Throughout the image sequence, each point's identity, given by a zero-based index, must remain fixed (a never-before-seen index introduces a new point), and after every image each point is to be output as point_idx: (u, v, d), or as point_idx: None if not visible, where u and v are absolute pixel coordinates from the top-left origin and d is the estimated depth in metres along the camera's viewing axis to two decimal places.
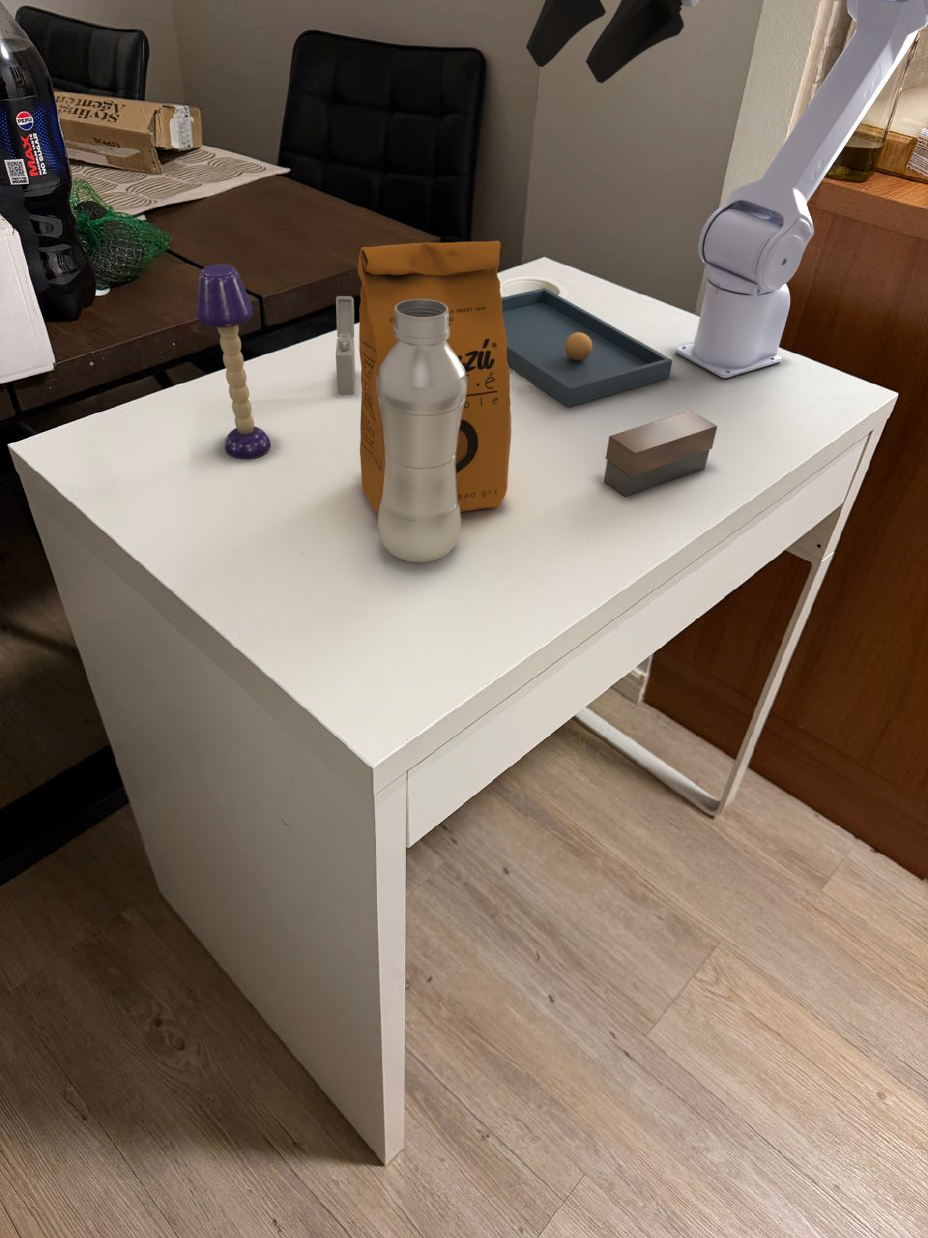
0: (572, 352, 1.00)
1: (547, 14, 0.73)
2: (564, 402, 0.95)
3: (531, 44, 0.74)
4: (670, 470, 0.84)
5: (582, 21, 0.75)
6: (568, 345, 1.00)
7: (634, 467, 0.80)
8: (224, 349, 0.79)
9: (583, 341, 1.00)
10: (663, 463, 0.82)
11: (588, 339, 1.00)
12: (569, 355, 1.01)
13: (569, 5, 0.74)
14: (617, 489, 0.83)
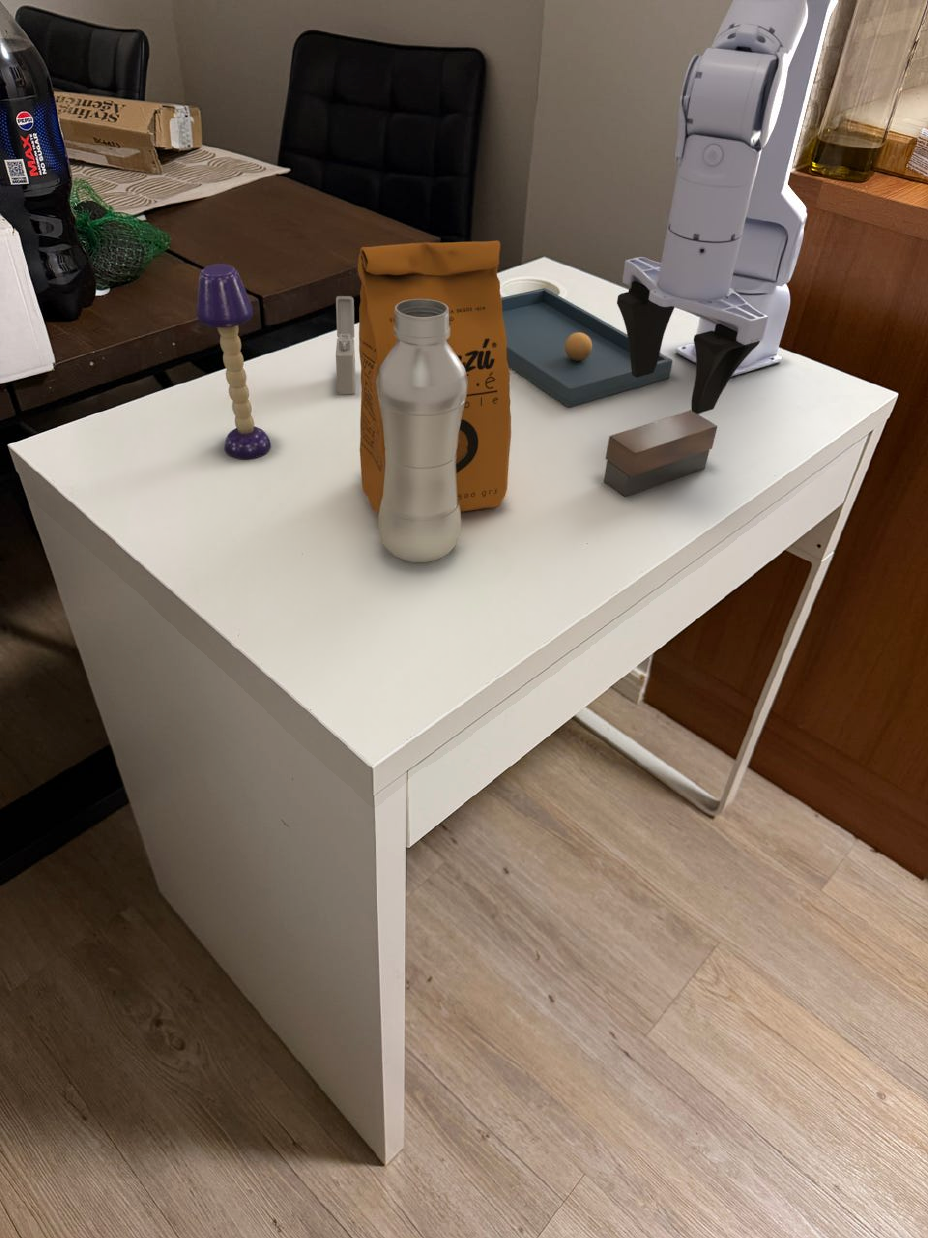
0: (572, 352, 1.00)
1: (636, 350, 0.80)
2: (564, 402, 0.95)
3: (636, 375, 0.82)
4: (670, 470, 0.84)
5: (666, 317, 0.80)
6: (568, 345, 1.00)
7: (634, 467, 0.80)
8: (224, 349, 0.79)
9: (583, 341, 1.00)
10: (663, 463, 0.82)
11: (588, 339, 1.00)
12: (569, 355, 1.01)
13: (649, 325, 0.79)
14: (617, 489, 0.83)
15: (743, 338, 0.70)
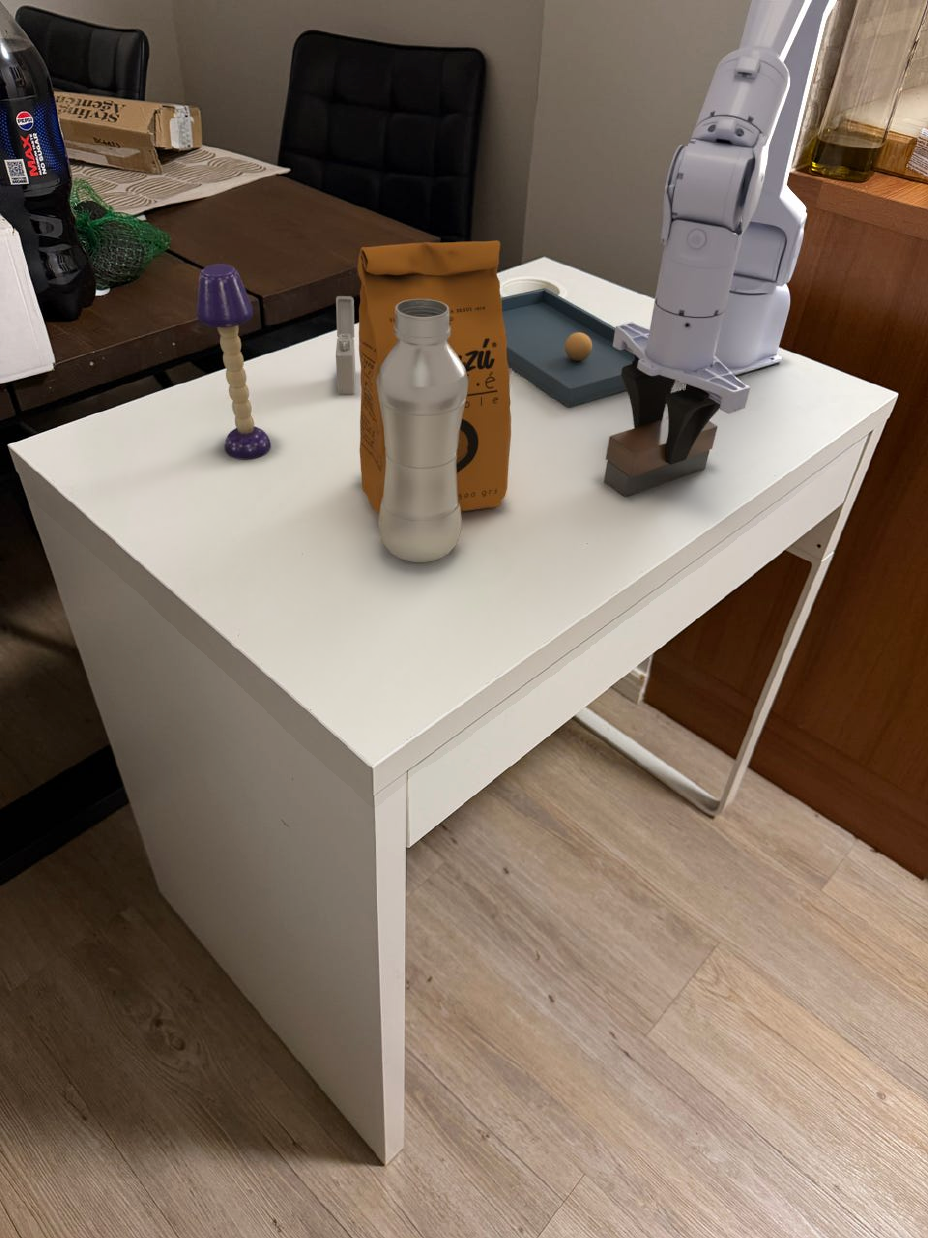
0: (572, 352, 1.00)
1: (639, 419, 0.83)
2: (564, 402, 0.95)
3: None
4: (671, 470, 0.84)
5: (668, 388, 0.82)
6: (568, 345, 1.00)
7: (634, 467, 0.80)
8: (224, 349, 0.79)
9: (583, 341, 1.00)
10: (663, 463, 0.82)
11: (588, 339, 1.00)
12: (569, 355, 1.01)
13: (652, 396, 0.82)
14: (617, 489, 0.83)
15: (726, 407, 0.74)
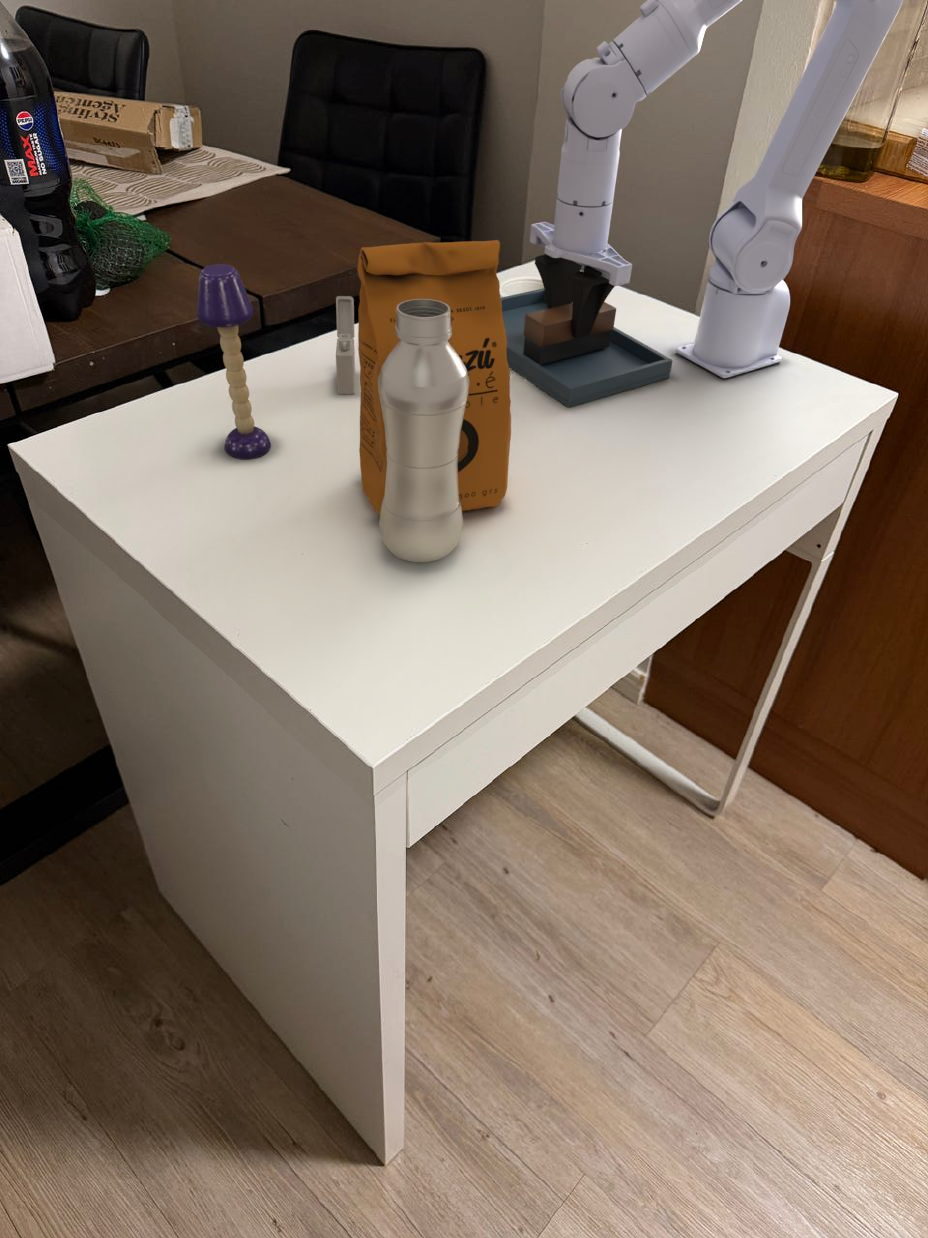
0: None
1: (551, 301, 1.00)
2: (564, 402, 0.95)
3: None
4: (578, 345, 1.02)
5: None
6: None
7: (545, 338, 0.98)
8: (224, 349, 0.79)
9: None
10: (570, 337, 1.00)
11: None
12: None
13: (561, 281, 1.00)
14: (533, 359, 1.01)
15: (613, 281, 0.92)
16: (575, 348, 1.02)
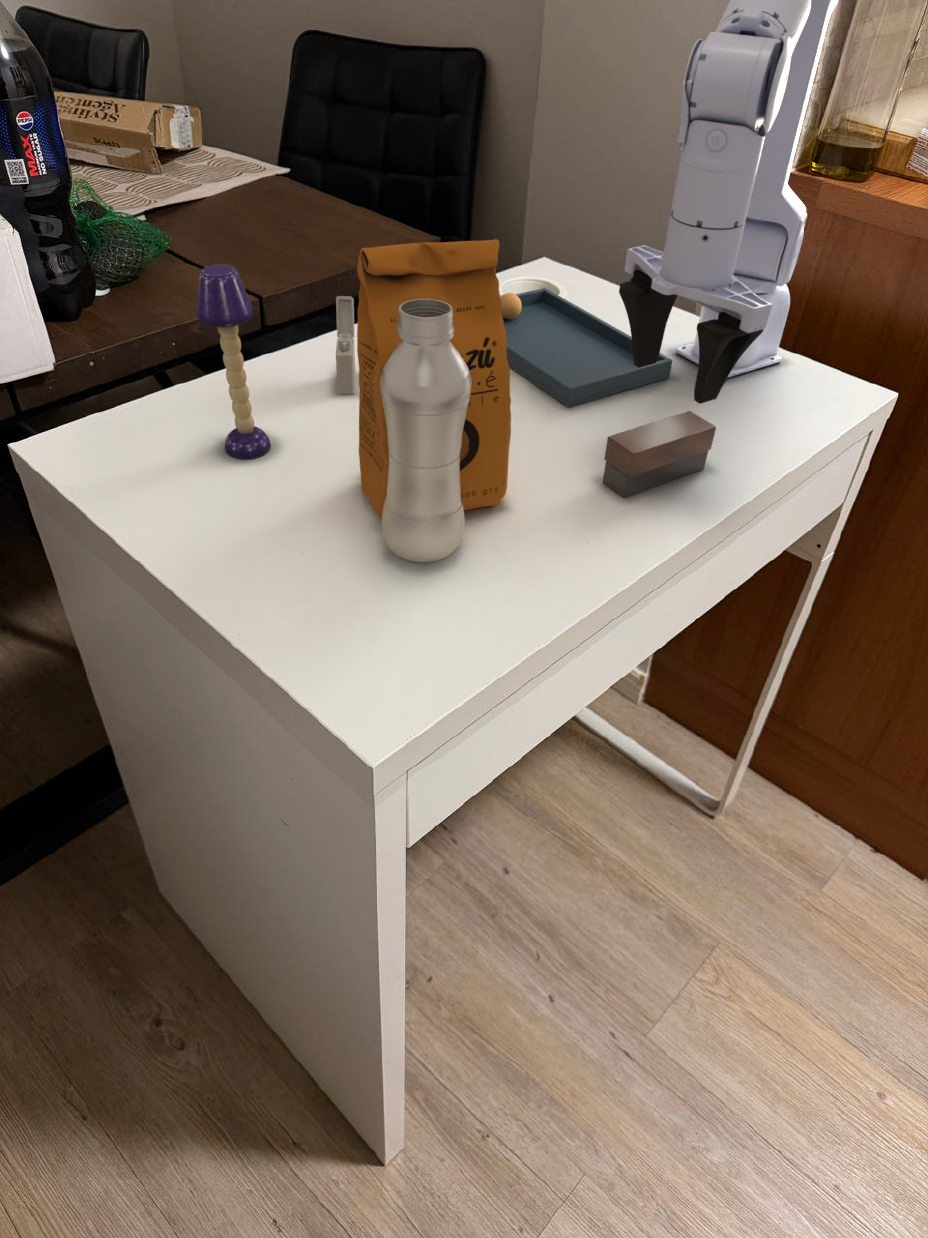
0: None
1: (638, 339, 0.79)
2: (564, 402, 0.95)
3: (638, 365, 0.81)
4: (669, 470, 0.84)
5: (668, 307, 0.79)
6: None
7: (633, 468, 0.80)
8: (224, 349, 0.79)
9: None
10: (662, 464, 0.82)
11: None
12: (502, 304, 1.08)
13: (651, 314, 0.79)
14: (616, 490, 0.83)
15: (746, 326, 0.70)
16: (666, 474, 0.84)
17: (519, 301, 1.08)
